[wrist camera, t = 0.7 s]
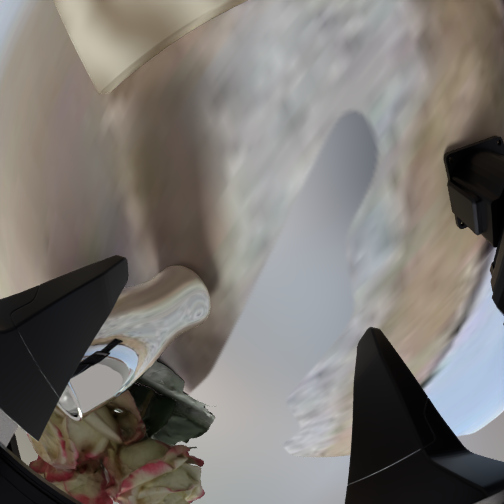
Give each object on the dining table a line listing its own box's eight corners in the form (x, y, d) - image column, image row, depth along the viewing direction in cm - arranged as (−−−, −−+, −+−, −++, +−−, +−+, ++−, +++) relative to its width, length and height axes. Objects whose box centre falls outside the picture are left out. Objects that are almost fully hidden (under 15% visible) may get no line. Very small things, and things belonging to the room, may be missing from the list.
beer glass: (196, 249, 24) (35, 317, 10) (227, 323, 24) (101, 434, 11) (145, 271, 27) (13, 328, 13) (173, 334, 27) (59, 415, 14)
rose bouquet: (244, 418, 39) (205, 582, 14) (128, 415, 49) (82, 522, 24) (139, 305, 29) (14, 542, 3) (43, 333, 39) (-34, 450, 14)
